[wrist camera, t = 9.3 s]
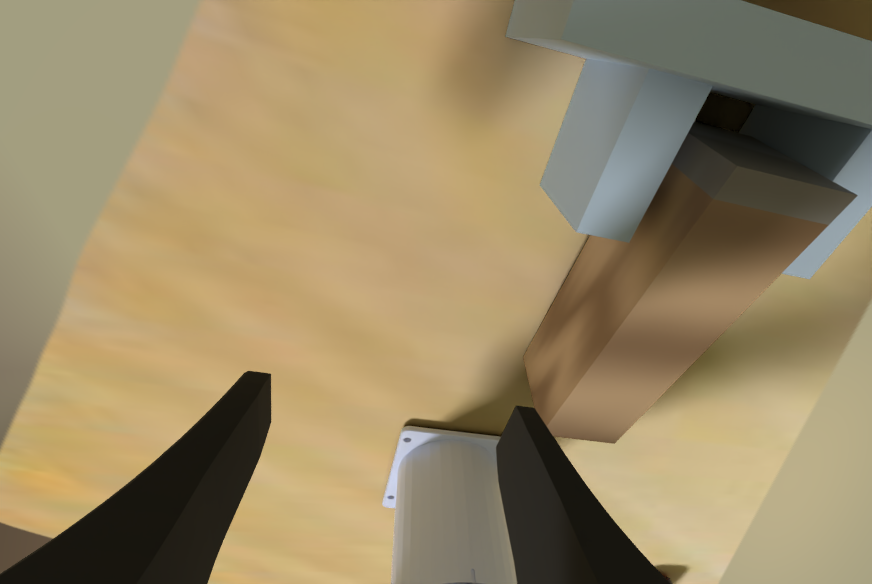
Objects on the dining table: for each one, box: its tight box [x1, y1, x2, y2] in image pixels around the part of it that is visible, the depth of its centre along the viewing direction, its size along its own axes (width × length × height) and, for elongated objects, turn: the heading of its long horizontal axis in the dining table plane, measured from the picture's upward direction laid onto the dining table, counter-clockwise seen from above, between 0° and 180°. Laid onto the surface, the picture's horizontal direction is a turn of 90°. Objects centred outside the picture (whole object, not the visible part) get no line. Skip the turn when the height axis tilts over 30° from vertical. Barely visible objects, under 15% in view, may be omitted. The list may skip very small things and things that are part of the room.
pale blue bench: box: [505, 0, 872, 279], centre depth 14 cm, size 6×16×7 cm, turn 78°
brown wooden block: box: [523, 122, 858, 444], centre depth 17 cm, size 14×4×5 cm, turn 167°
